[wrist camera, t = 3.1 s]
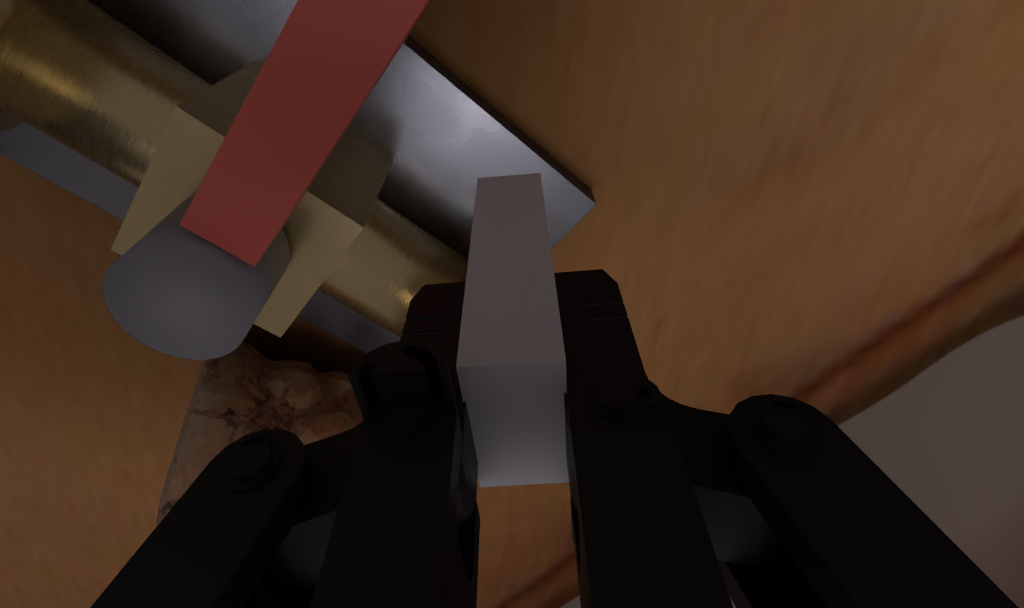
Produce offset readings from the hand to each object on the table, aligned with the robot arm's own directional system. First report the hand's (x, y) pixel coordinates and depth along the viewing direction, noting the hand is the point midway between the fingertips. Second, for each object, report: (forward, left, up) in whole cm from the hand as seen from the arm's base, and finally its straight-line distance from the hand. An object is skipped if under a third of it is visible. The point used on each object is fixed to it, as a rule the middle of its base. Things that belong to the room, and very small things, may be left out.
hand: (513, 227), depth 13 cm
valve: (-5, -8, -11) cm, 14 cm away
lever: (-5, -1, -3) cm, 7 cm away
